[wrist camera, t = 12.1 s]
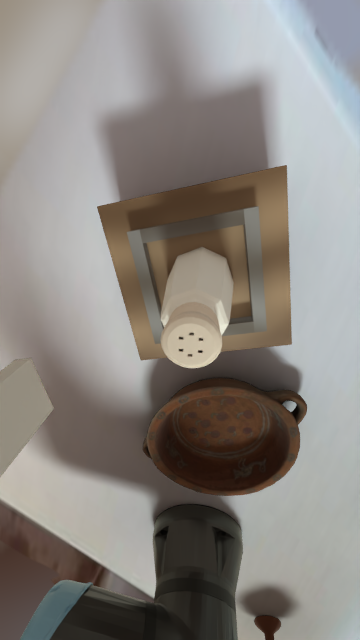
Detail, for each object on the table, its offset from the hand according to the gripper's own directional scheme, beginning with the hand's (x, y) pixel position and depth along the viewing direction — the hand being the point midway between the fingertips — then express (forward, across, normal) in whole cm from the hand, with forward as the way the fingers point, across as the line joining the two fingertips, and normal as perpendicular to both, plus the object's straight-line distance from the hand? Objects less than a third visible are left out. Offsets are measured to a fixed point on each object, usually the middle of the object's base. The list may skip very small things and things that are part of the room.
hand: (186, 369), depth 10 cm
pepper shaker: (+13, 0, 0) cm, 13 cm away
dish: (+19, +1, +20) cm, 28 cm away
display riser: (+18, 0, 0) cm, 19 cm away
